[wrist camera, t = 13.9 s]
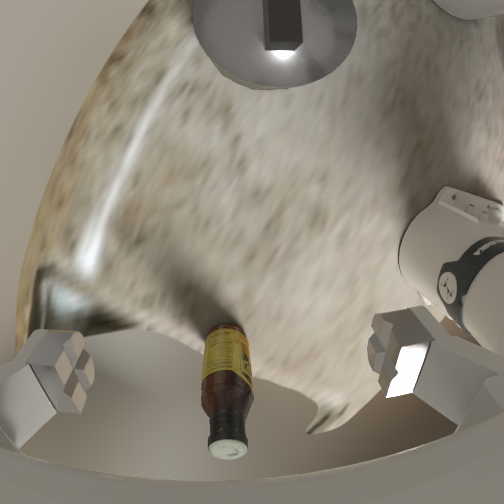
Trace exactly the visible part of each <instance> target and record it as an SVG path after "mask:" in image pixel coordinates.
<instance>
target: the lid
mask: <svg viewBox="0 0 504 504" xmlns="http://www.w3.org/2000/svg"><path fill="white" fill-rule="evenodd" d="M192 17H193V25H194V29H195V33H196V36H197V38H198V40H199V42H200V45H201V46H202V48H203V49H204V51H205V53H206V54H207V55H208V56H209V57H210V59H211V60H212V61H213V62H214V63H215V64H216V65H218V66H219V67H220V68H221V69H223V70H224V71H225V72H227V73H228V74H230V75H232V76H234V77H236V78H237V79H240V80H242V81H245V82H247V83H250V84H254V85H257V86H263V87H269V88H291V87H297V86H302V85H305V84H309V83H312V82H314V81H316V80H319V79H321V78H323V77H325V76H326V75H328V74H330V73H331V72H332V71H334V70H335V69H336V68H337V67H338V66H339V65H340V64H341V63H342V62H343V61H344V60H345V59H346V57H347V56H348V54H349V53H350V51H351V48H352V46H353V44H354V41H355V37H356V32H357V16H356V11H355V7H354V4H353V1H352V0H194V3H193V12H192Z"/></svg>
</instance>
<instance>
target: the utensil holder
mask: <svg viewBox="0 0 504 504" xmlns="http://www.w3.org/2000/svg"><path fill="white" fill-rule="evenodd" d="M433 1H434V2H435V3H436V4H437V5H438V6H439V7H440V8H442V9H443V10H444V11H446V12H447V13H449V14H451V15H452V16H455V17H457V18H460V19H464V20H471V19H477V18H484V17H491V16H497V15H503V14H504V0H433Z"/></svg>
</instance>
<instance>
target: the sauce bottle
mask: <svg viewBox="0 0 504 504" xmlns="http://www.w3.org/2000/svg"><path fill="white" fill-rule="evenodd" d="M253 393H254V392H253V382H252V372H251V362H250V352H249V343H248V340H247V337H246V335H245V333H244V332H243V331H242V330H241V329H240V328H238V327H235V326H233V325H220V326H217V327H215V328H213V329H212V330H211V331H210V332H209V334H208V336H207V339H206V342H205V351H204V362H203V373H202V396H201V402H202V408H203V409H204V411H205V413H206V414H207V416H208V417H210V436H209V438H208V450H209V452H210V454H212V455H213V456H216V457H217V458H220V459H235V458H238V457H241V456H242V455H244V454H245V453H246V452H247V451H248V439H247V438H246V434H245V420H246V418H247V415H248V412H249V410H250V407H251V404H252V402H253V400H254V394H253Z"/></svg>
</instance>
